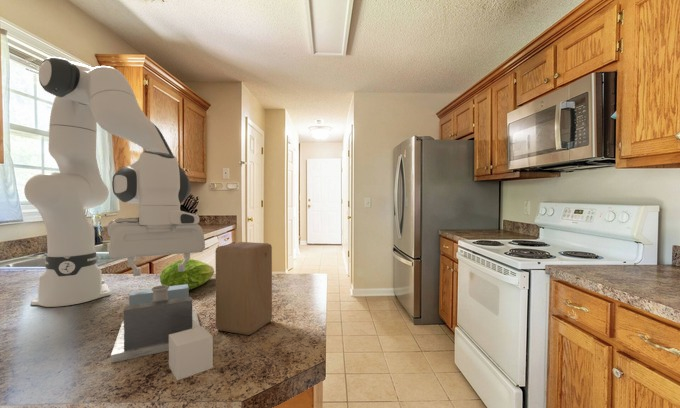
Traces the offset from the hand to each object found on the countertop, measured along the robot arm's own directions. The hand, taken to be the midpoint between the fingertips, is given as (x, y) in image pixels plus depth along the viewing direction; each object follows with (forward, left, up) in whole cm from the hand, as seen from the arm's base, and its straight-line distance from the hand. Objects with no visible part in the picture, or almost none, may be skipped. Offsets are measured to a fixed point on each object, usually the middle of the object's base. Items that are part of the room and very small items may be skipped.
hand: (160, 273), depth 75 cm
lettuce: (-34, +10, -13) cm, 38 cm away
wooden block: (+11, +18, -13) cm, 25 cm away
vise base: (+7, 0, -13) cm, 15 cm away
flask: (+8, 0, -12) cm, 14 cm away
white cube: (+25, +5, -13) cm, 29 cm away
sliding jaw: (+3, 0, -11) cm, 12 cm away
